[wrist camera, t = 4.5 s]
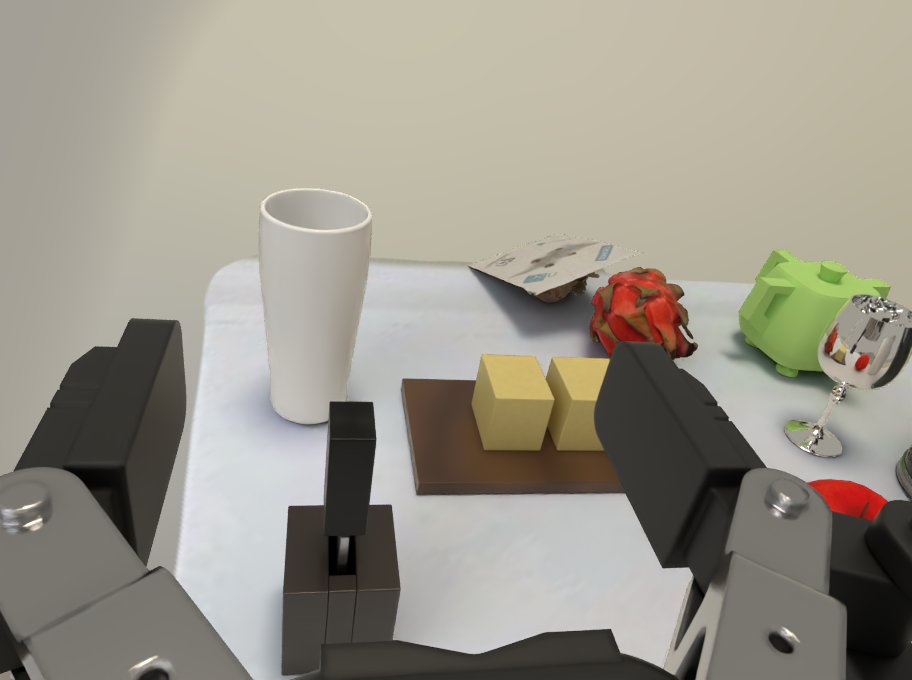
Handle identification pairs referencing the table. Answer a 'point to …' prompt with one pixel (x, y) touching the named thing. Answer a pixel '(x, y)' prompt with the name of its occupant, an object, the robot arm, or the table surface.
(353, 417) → the knife
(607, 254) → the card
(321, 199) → the white tall tumbler
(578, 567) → the table surface
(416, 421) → the butter board
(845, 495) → the apple
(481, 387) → the butter slice
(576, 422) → the butter block
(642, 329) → the dragon fruit
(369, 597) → the knife block
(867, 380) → the wineglass
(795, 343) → the teapot
